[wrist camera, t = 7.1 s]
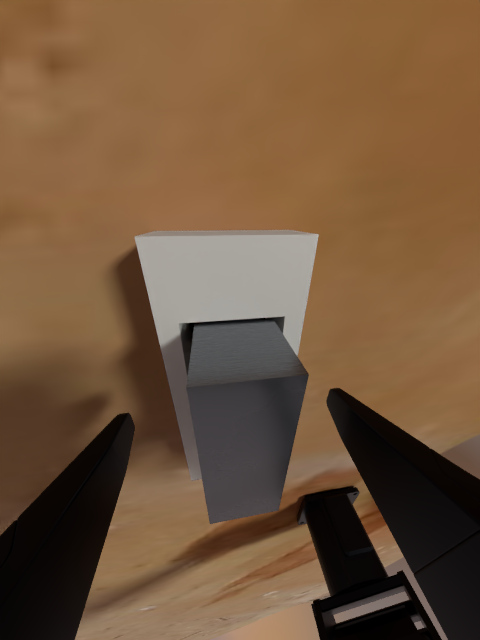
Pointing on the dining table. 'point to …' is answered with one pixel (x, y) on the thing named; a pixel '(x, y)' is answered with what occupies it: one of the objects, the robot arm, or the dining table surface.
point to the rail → (221, 294)
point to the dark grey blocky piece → (243, 413)
